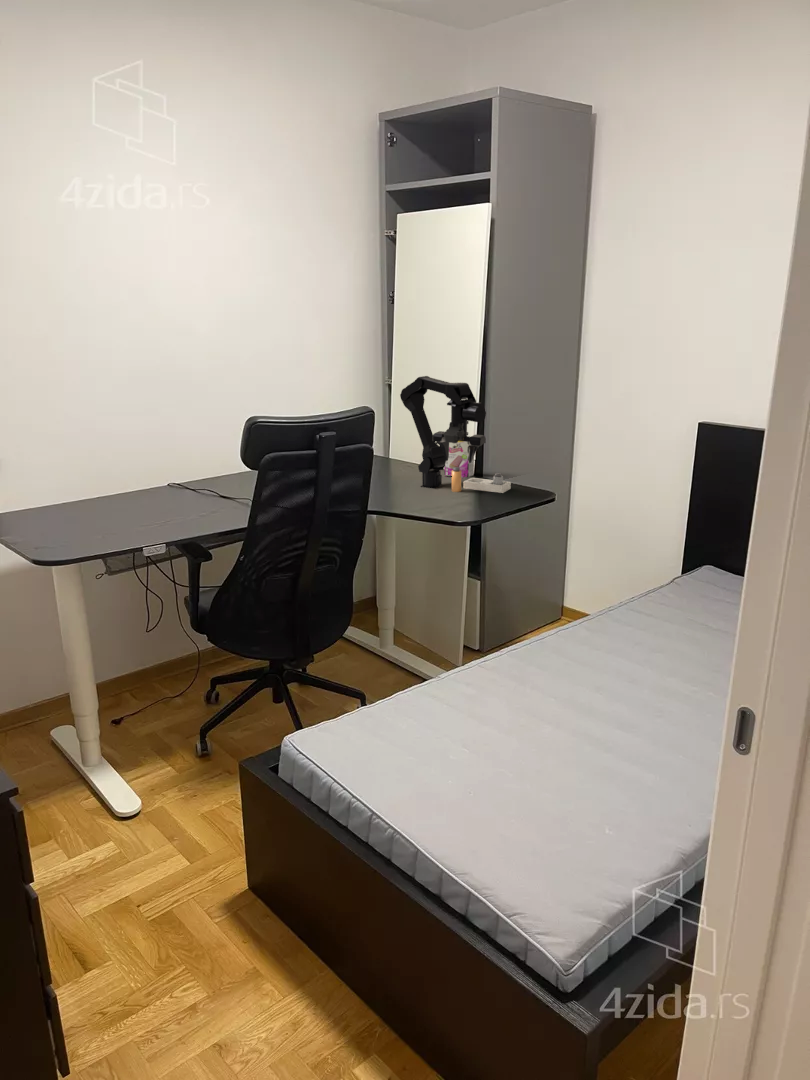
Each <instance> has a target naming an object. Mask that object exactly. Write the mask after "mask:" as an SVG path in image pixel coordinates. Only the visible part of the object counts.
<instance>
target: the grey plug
mask: <svg viewBox="0 0 810 1080" xmlns="http://www.w3.org/2000/svg"><path fill="white" fill-rule="evenodd" d="M492 480H493V484H494V485H503V481H504V476H503V475H502V473H501V472H496V473H494V475H493V477H492Z"/></svg>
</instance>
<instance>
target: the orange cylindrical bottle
mask: <svg viewBox="0 0 810 1080" xmlns="http://www.w3.org/2000/svg"><path fill="white" fill-rule="evenodd" d="M451 492H453V493H460V492H462V478H461V470H460V468H459V467H454V468H453V470H452V477H451Z"/></svg>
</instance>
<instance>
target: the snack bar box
mask: <svg viewBox="0 0 810 1080" xmlns="http://www.w3.org/2000/svg"><path fill="white" fill-rule="evenodd" d="M468 436H469V437H471V435H468ZM469 445H471V444H470V443H469V442H466V441H458V442H457V443H450V442H449V457H448V460H447V461H446V463H445V466H444V469H443V471H444V474H443V475H450V476H452V470H453V468H454V467H459V468H460V470H461V477H463V478H462V479H464V478H471V477H472V476H474V475H475V473H474V472H475V471H474V470H475V456H474V457H473V460H472V462H471V463H469V453H470V449H469Z"/></svg>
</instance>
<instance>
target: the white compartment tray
mask: <svg viewBox="0 0 810 1080" xmlns="http://www.w3.org/2000/svg"><path fill="white" fill-rule="evenodd" d="M462 483H463V484H462V485H463V487H462V489H465V490H466V489H467V490H472V491H473V490H475V491H482V492H492V493H499V494H504V493H506V492H508V491H509V490H511V487H512V486H511V484H512V482H511V481H505V480H503V485H494V484H493V479H486V478H478V477H469V478H468V479H465V480H464V481H463V482H462Z"/></svg>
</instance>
